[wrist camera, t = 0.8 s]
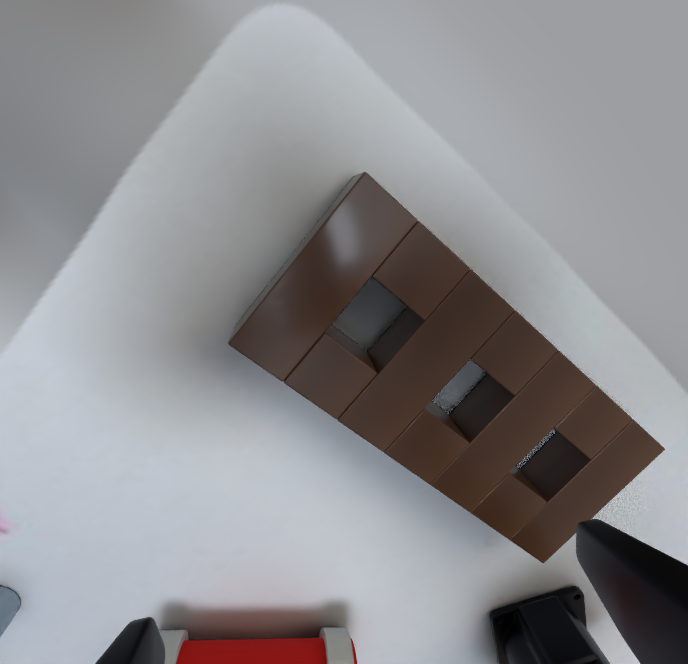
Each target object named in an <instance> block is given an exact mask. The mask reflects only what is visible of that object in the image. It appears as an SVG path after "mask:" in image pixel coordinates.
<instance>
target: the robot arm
mask: <svg viewBox="0 0 688 664" xmlns="http://www.w3.org/2000/svg"><path fill="white" fill-rule="evenodd" d="M576 554H577V558H578V561H579V563H580V565H581V567H582V568H583V570H584V572H585V573H586V575H587V577H588V579H589V580H590V582H591V584H592V586H593V587H594V589H595V591H596V592H597V594H598V596H599V598H600V599H601V601H602V603H603V604H604V606H605V608H606V610H607V611H608V613H609V615H610V617H611V618H612V620H613V622H614V623H615V625H616V627H617V629H618V630H619V632H620V633H621V635H622V637H623V638H624V640H625V641H626V643H627V644H628V646H629V647H630V649H631V650H632V652H633V653H634V655H635V656H636V658H637V659H638V660H639V662H640V663H641V664H688V565H686V564H684V563H682V562H680V561H678V560H676V559H674V558H672V557H670V556H668V555H667V554H665V553H663V552H661V551H659V550H657V549H655V548H653V547H651V546H649V545H647V544H645V543H643V542H641V541H639V540H638V539H636V538H634V537H632V536H630V535H628V534H626V533H624V532H622V531H620V530H618V529H616V528H614V527H612V526H610V525H609V524H607V523H605V522H603V521H601V520H598V519H591V520H587V521H582V522H579V523H578V525H577V529H576ZM490 621H491V627H492V632H493V637H494V643H495V648H496V653H497V659H498V664H610V663H609V661H608V660H607V658H606V657H605V656H604V654H603V653H602V651H601V650H600V648H599V647H598V645H597V644H596V642H595V641H594V639H593V638H592V637H591V635H590V634H589V632H588V631H587V627H586V615H585V604H584V594H583V592H582V591H581V590H580V588H579V587H576V586H574V587H570V588H567V589H563V590H560V591H557V592H553V593H550V594H547V595H543V596H540V597H537V598H533V599H530V600H527V601H523V602H520V603H517V604H513V605H510V606H507V607H503V608H500V609H497V610H494V611H493V612H491V614H490ZM164 663H165V645H164V642H163V640H162V637H161V635H160V632H159V630H158V627H157V625H156V622H155V620H154V619H153V618H151V617H147V618H143V619H138V620H134V621H132V622H130V623H129V624H128V625H127V626H126V627H125V628H124V630H123V631H122V632H121V633H120V634H119V636H118V637H117V638H116V639H115V640H114V642H113V643H112V644H111V645H110V647H109V648H108V649H107V650H106V651H105V653H104V654H103V655H102V656H101V657H100V659H99V660H98V661H97V662H96V663H95V664H164Z"/></svg>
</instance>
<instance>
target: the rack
mask: <svg viewBox="0 0 688 664" xmlns="http://www.w3.org/2000/svg"><path fill="white" fill-rule="evenodd" d="M371 276H372V277H373V278H375V279H376V280H377V281H378V282H379V283H381V284H382V285H383V286H384V287H385V288H387V289H388V290H389V291H390V292H391V293H392V294H394V295H395V296H396V297H397V298H398V299H400V300H401V301H402V302H403V303H404V304H406V305H407V308H406V309H405V310H404V311H403V312H402V313H401V314H400V316H399V317H398V318H397V319H396V320H395V321H394V322H393V324H392V325H391V326H390V327H389V328H388V329H387V331H386V332H385V333H384V334H383V335H382V336H381V337H380V339H379V340H378V341H377V342H376V343H375V344H374V345H373V347H372V348H371V349H370V350H369V351H368V352H367V351H366V350H365V349H363V348H362V347H361V346H359V345H358V344H357V343H355V342H354V341H353V340H352V339H350V338H349V337H348V336H346V335H345V334H344V333H342V332H341V331H340V330H339V329H337V328H336V327H335V326H333V325H332V323H333V322H334V320H335V319H336V318H337V317H338V316H339V314H340V313H341V312H342V311H343V310H344V308H345V307H346V306H347V305H348V304H349V302H350V301H351V300H352V299H353V298H354V297H355V295H356V294H357V293H358V292H359V291H360V289H361V288H362V287H363V286H364V285H365V283H366V282H367V281H368V280H369V279H370V277H371ZM228 344H229V345H230V346H231V347H233V348H234V349H236V350H237V351H239V352H240V353H242V354H243V355H244V356H246V357H247V358H249V359H250V360H252V361H253V362H255V363H256V364H257V365H259V366H260V367H262V368H263V369H265V370H266V371H267V372H269V373H270V374H272V375H273V376H275V377H276V378H278V379H279V380H280V381H284V383H285V384H286V385H288V386H289V387H291V388H292V389H293V390H295V391H296V392H298V393H299V394H301V395H302V396H303V397H305V398H306V399H308V400H309V401H311V402H312V403H314V404H315V405H316V406H318V407H319V408H321V409H322V410H324V411H325V412H327V413H328V414H329V415H331V416H332V417H334V418H335V419H337V420H338V421H339V422H341V423H342V424H344V425H345V426H346V427H348V428H349V429H351V430H352V431H354V432H355V433H357V434H358V435H359V436H361V437H362V438H364V439H365V440H367V441H368V442H370V443H371V444H372V445H374V446H375V447H377V448H378V449H380V450H381V451H383V452H384V453H385V454H387V455H388V456H389V457H391V458H392V459H394V460H395V461H397V462H398V463H400V464H401V465H402V466H404V467H405V468H407V469H408V470H410V471H411V472H413V473H414V474H415V475H417V476H418V477H420V478H421V479H423V480H424V481H426V482H427V483H428V484H430V485H431V486H433V487H434V488H436V489H437V490H439V491H440V492H441V493H443V494H444V495H446V496H447V497H449V498H450V499H452V500H453V501H454V502H456V503H457V504H459V505H460V506H462V507H463V508H464V509H466V510H467V511H469V512H470V513H472V514H473V515H475V516H476V517H477V518H479V519H480V520H482V521H483V522H485V523H486V524H488V525H489V526H490V527H492V528H493V529H495V530H496V531H498V532H499V533H500V534H502V535H503V536H505V537H506V538H508V539H509V540H510V541H512V542H513V543H515V544H516V545H518V546H519V547H521V548H522V549H523V550H525V551H526V552H528V553H529V554H531V555H532V556H534V557H535V558H536V559H538V560H539V561H541V562H542V563H544V562H545V561H546V560H548V559H549V558H550V557H551V556H552V555H553V554H554V553H555V552H556V551H557V550H558V549H559V548H560V547H561V546H562V545H564V544H565V543H566V542H567V541H568V540H569V539H570V538H571V537H572V536H573V535H574V534H575V533H576V529H577V525H578V523H579V522H582V521H587V520H590V519H591V518H592V517H593V516H594V515H596V514H597V513H598V512H599V511H600V510H601V509H602V508H603V507H604V506H605V505H606V504H607V503H608V502H609V501H610V500H612V499H613V498H614V497H615V496H616V495H617V494H618V493H619V492H620V491H621V490H622V489H623V488H624V487H625V486H626V485H628V484H629V483H630V482H631V481H632V480H633V479H634V478H635V477H636V476H637V475H638V474H639V473H640V472H641V471H642V470H644V469H645V468H646V467H647V466H648V465H649V464H650V463H651V462H652V461H653V460H654V459H655V458H656V457H657V456H658V455H660V454H661V453H662V452H663V451H664V450H665V449H664V448H663V447H662V446H661V445H660V444H659V443H658V442H657V441H656V440H655V439H654V438H653V437H652V436H651V435H649V434H648V433H647V432H646V431H645V430H644V429H643V428H642V427H641V426H640V425H639V424H638V423H637V422H635V421H634V420H633V419H632V418H631V417H630V416H629V415H628V414H627V413H626V412H624V411H623V410H622V409H621V408H620V407H619V406H618V405H617V404H616V403H615V402H614V401H613V400H612V399H610V398H609V397H608V396H607V395H606V394H605V393H604V392H603V391H602V390H601V389H600V388H599V387H597V386H596V385H595V384H594V383H593V382H592V381H591V380H590V379H589V378H588V377H587V376H586V375H585V374H584V373H582V372H581V371H580V370H579V369H578V368H577V367H576V366H575V365H574V364H573V363H572V362H571V361H570V360H568V359H567V358H566V357H565V356H564V355H563V354H562V353H561V352H560V351H558V350H557V348H555V347H554V346H553V345H552V344H551V343H550V342H549V341H548V340H547V339H546V338H545V337H544V336H542V335H541V334H540V333H539V332H538V331H537V330H536V329H535V328H534V327H533V326H532V325H531V324H530V323H528V322H527V321H526V320H525V319H524V318H523V317H522V316H521V315H520V314H519V313H518V312H517V311H515V310H514V309H513V308H512V307H511V306H510V305H509V304H508V303H507V302H506V301H505V300H504V299H502V298H501V297H500V296H499V295H498V294H497V293H496V292H495V291H494V290H493V289H492V288H491V287H490V286H488V285H487V284H486V283H485V282H484V281H483V280H482V279H481V278H480V277H479V276H478V275H477V274H476V273H474V272H473V271H472V270H471V269H470V268H469V267H468V266H467V265H466V264H465V263H464V262H463V261H462V260H460V259H459V258H458V257H457V256H456V255H455V254H454V253H453V252H452V251H451V250H450V249H449V248H448V247H446V246H445V245H444V244H443V243H442V242H441V241H440V240H439V239H438V238H437V237H436V236H435V235H433V234H432V233H431V232H430V231H429V230H428V229H427V228H426V227H425V226H424V225H423V224H422V223H421V222H419V221H417V219H416V218H415V217H414V216H413V215H412V214H411V213H410V212H408V211H407V210H406V209H405V208H404V207H403V206H402V205H401V204H400V203H399V202H398V201H397V200H396V199H394V198H393V197H392V196H391V195H390V194H389V193H388V192H387V191H386V190H385V189H384V188H383V187H381V186H380V185H379V184H378V183H377V182H376V181H375V180H374V179H373V178H372V177H371V176H370V175H369V174H367V173H366V172H363V173H361V174H358V175H355V176H353V178H352V179H351V180H350V181H349V183H348V184H347V185H346V186H345V188H344V189H343V190H342V191H341V193H340V194H339V195H338V197H337V198H336V199H335V200H334V202H333V203H332V204H331V205H330V207H329V208H328V209H327V210H326V212H325V213H324V214H323V215H322V217H321V218H320V219H319V220H318V222H317V223H316V224H315V226H314V227H313V228H312V229H311V231H310V232H309V233H308V234H307V236H306V237H305V238H304V239H303V241H302V242H301V243H300V244H299V246H298V247H297V248H296V249H295V251H294V252H293V253H292V255H291V256H290V257H289V258H288V260H287V261H286V262H285V263H284V265H283V266H282V267H281V268H280V270H279V271H278V272H277V273H276V275H275V276H274V277H273V278H272V280H271V281H270V282H269V284H268V285H267V286H266V287H265V289H264V290H263V291H262V292H261V294H260V295H259V296H258V297H257V299H256V300H255V301H254V302H253V304H252V305H251V306H250V307H249V309H248V310H247V311H246V313H245V314H244V315H243V316H242V318H241V319H240V320H239V321H238V323H237V324H236V326H235V328H234V331H233V333H232V335H231V338H230V340H229V342H228ZM469 359H471V360H472V361H473V362H475V363H476V364H477V365H478V366H479V367H481V368H482V369H483V370H484V371H485V372H486V373H488V374H487V375H486V376H485V378H484V379H483V380H482V381H481V382H480V383H479V384H478V385H477V386H476V387H475V388H474V389H473V390H472V391H471V392H470V393H469V395H468V396H467V397H466V398H465V399H464V400H463V401H462V402H461V403H460V404H459V405H458V406H457V407H456V408H455V409H454V411H453V412H452V413H451V414H450V415H449V414H448V413H446V412H445V411H444V410H442V409H441V408H440V407H439V406H437V405H436V404H435V403H433V402H432V401H431V400H432V399H433V398H434V397H435V396H436V395H437V394H438V393H439V392H440V391H441V390H442V389H443V387H444V386H445V385H446V384H447V383H448V382H449V381H450V380H451V379H452V378H453V377H454V376H455V374H456V373H457V372H458V371H459V370H460V369H461V368H462V367H463V366H464V365H465V364H466V363H467V361H468V360H469ZM552 429H554V430H556V431H557V433H556V434H555V435H554V436H553V437H552V438H551V439H550V440H549V441H548V442H547V443H546V444H545V445H544V446H543V447H542V448H541V449H540V450H539V451H538V452H537V453H536V454H535V455H534V456H533V457H532V458H531V459H530V460H529V461H528V462H527V463H526V464H525V465H524V466H523V467H522V468H521V469H519V468H518V467H516V465H517V464H518V463H519V462H520V461H521V460H522V459H523V458H524V457H525V456H526V455H527V454H528V453H529V452H530V451H531V450H532V449H533V448H534V447H535V446H536V445H537V444H538V443H539V442H540V441H541V440H542V439H543V438H544V437H545V436H546V435H547V434H548V433H549V432H550V431H551V430H552Z"/></svg>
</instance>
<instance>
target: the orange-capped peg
mask: <svg viewBox="0 0 688 664" xmlns="http://www.w3.org/2000/svg"><path fill="white" fill-rule="evenodd" d="M19 607H20V599H19V597H18V596H17V594H16V593H15V592H13V591H12V590H10V589H8V588H6V587H2V586H0V637H1V635H2V634H3V632H4V631H5V629H6V628H7V626H8V625H9V623H10V622H11V620H12V619H13V617H14V616H15V614H16V613H17V611H18V610H19Z"/></svg>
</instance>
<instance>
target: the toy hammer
mask: <svg viewBox="0 0 688 664" xmlns="http://www.w3.org/2000/svg"><path fill="white" fill-rule="evenodd" d="M159 632H160V635H161V637H162V640H163V642H164V645H165V663H164V664H357V659H356V653H355V648H354V644H353V641H352V639H351V638H350V635H349V632H348V629H347V628H346V627H326V628H321V631H320V635H319V638H281V639H232V640H188V631H187V630H161V631H159Z"/></svg>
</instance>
